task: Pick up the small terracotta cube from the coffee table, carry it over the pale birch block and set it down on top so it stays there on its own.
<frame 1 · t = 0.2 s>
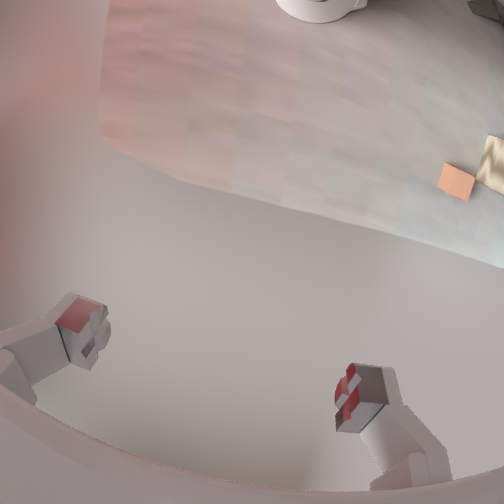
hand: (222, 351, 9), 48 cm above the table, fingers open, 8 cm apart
terracotta cube: (450, 178, 49), on the table
grey faceted figure: (503, 30, 30), on the table
birch block: (499, 167, 45), on the table
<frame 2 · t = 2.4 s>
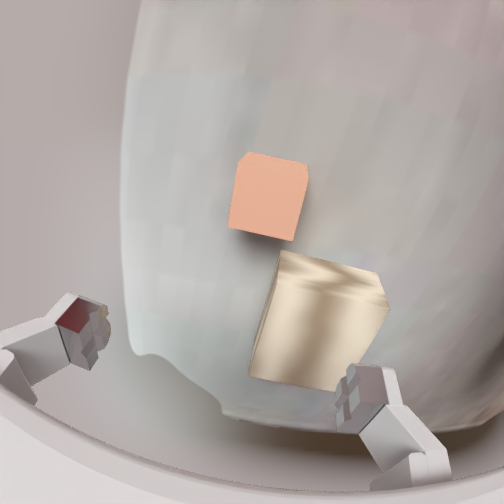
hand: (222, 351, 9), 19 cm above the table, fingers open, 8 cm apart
terracotta cube: (271, 184, 26), on the table
birch block: (312, 308, 32), on the table
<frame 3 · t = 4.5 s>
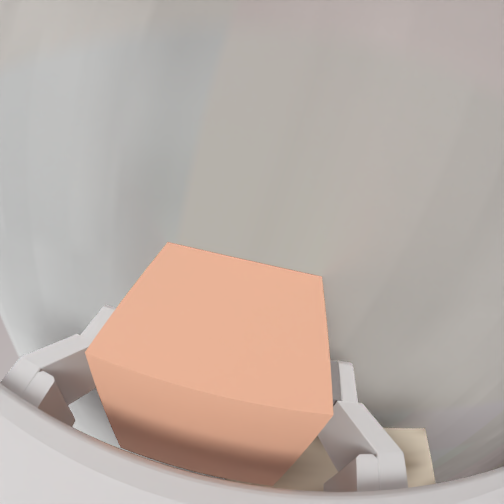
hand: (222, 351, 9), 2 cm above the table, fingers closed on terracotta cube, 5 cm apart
terracotta cube: (232, 319, 11), on the table, touching gripper
birch block: (312, 461, 16), on the table
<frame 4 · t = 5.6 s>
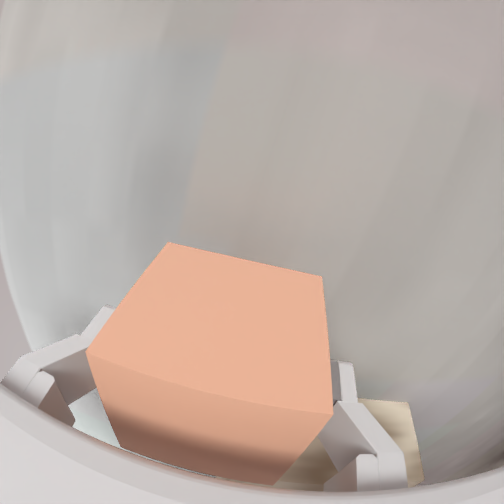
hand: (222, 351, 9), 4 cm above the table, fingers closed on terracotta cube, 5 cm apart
terracotta cube: (232, 318, 11), point 2 cm above the table, touching gripper
birch block: (302, 437, 18), on the table
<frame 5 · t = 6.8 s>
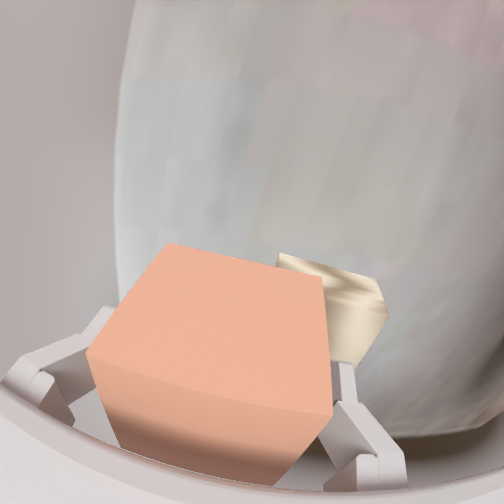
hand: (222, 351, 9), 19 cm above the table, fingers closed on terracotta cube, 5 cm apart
terracotta cube: (232, 319, 11), point 17 cm above the table, touching gripper
birch block: (309, 312, 31), on the table
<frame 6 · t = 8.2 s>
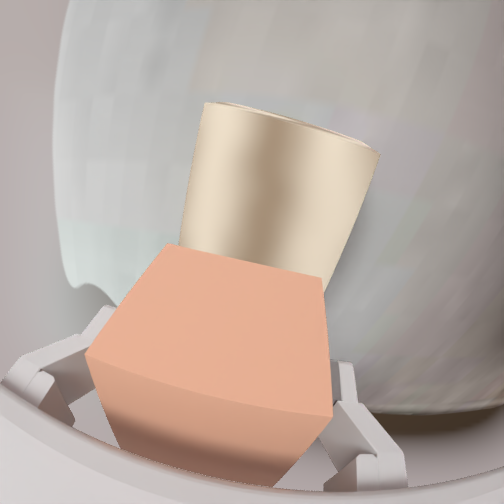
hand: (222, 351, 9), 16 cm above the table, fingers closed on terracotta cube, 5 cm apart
terracotta cube: (232, 320, 11), point 14 cm above the table, touching gripper
birch block: (273, 193, 23), on the table
when the fingers open (9 cm above the table, at t = 9.9 s): terracotta cube drops 1 cm, point 6 cm above the table.
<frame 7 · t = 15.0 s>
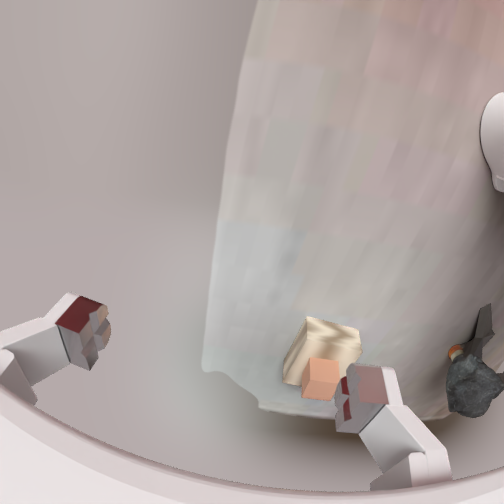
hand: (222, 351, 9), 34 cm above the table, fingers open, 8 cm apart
terracotta cube: (319, 368, 49), point 6 cm above the table
grey faceted figure: (462, 341, 50), on the table
birch block: (319, 344, 54), on the table
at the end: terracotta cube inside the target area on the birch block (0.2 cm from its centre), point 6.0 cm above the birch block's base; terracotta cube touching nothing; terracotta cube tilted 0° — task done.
